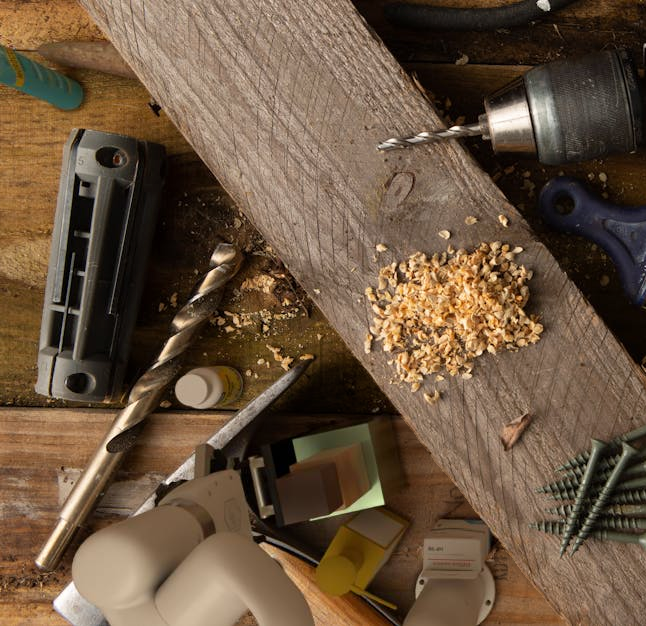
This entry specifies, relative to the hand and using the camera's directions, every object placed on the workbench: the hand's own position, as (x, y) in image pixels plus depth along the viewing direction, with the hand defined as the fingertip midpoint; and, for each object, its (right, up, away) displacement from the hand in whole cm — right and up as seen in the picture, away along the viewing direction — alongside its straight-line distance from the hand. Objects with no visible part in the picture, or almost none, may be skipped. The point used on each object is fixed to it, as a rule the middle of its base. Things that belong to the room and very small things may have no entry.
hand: (246, 501), depth 100 cm
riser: (+8, +1, +13) cm, 16 cm away
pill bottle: (-15, +13, +26) cm, 33 cm away
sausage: (-35, +62, +21) cm, 74 cm away
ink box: (+23, -12, +27) cm, 37 cm away
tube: (-40, +59, +26) cm, 76 cm away
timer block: (+9, +1, +1) cm, 9 cm away
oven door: (-1, -1, +26) cm, 26 cm away
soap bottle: (+12, -12, +27) cm, 32 cm away
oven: (+7, +1, +26) cm, 27 cm away
